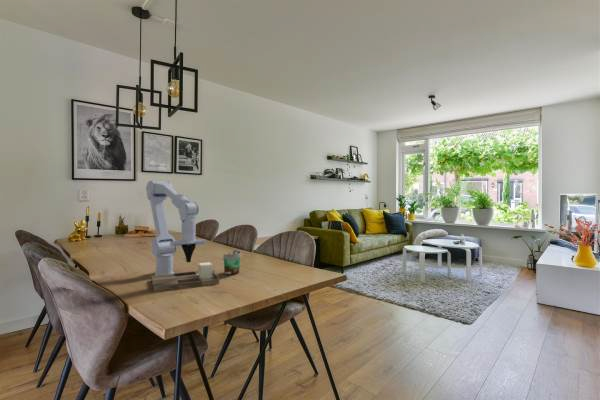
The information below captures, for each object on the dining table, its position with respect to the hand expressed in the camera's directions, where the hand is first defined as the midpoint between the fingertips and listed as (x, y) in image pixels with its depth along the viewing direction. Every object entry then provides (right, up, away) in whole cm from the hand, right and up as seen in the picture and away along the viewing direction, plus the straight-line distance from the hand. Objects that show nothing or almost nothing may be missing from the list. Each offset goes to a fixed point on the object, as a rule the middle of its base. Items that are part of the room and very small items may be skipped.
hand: (188, 261), depth 135 cm
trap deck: (-1, -9, -1) cm, 9 cm away
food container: (+17, -9, +15) cm, 24 cm away
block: (+6, -7, +4) cm, 10 cm away
